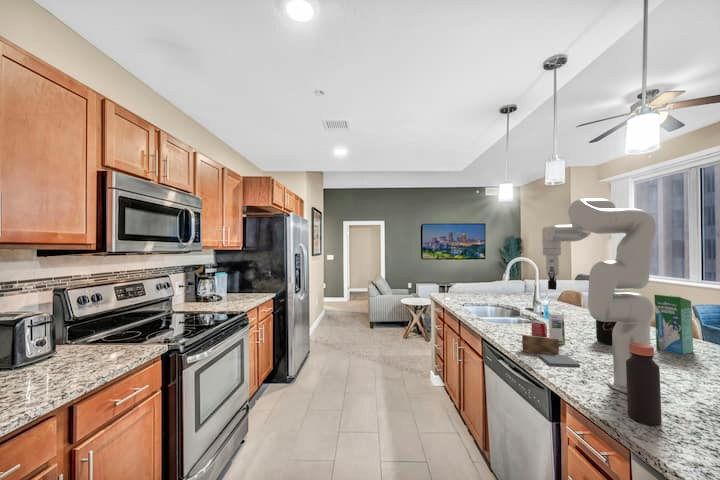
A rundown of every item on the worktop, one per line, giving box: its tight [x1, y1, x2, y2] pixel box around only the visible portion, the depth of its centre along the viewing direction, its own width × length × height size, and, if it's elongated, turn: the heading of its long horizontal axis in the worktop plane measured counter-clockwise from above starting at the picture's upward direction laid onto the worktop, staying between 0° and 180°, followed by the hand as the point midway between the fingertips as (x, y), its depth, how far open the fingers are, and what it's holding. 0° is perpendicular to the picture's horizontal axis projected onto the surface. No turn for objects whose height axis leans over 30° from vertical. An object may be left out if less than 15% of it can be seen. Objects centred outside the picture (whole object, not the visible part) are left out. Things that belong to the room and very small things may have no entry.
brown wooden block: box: [521, 334, 560, 355], centre depth 139 cm, size 14×5×7 cm, turn 61°
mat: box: [537, 354, 581, 368], centre depth 128 cm, size 11×11×1 cm
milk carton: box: [653, 294, 694, 355], centre depth 141 cm, size 9×9×25 cm
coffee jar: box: [595, 319, 617, 346], centre depth 152 cm, size 11×11×18 cm
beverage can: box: [531, 320, 548, 337], centre depth 146 cm, size 6×6×12 cm
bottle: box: [626, 343, 663, 427], centre depth 85 cm, size 7×7×20 cm
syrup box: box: [548, 311, 566, 345], centre depth 154 cm, size 6×6×14 cm
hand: (552, 288), depth 148 cm, fingers open, 9 cm apart
